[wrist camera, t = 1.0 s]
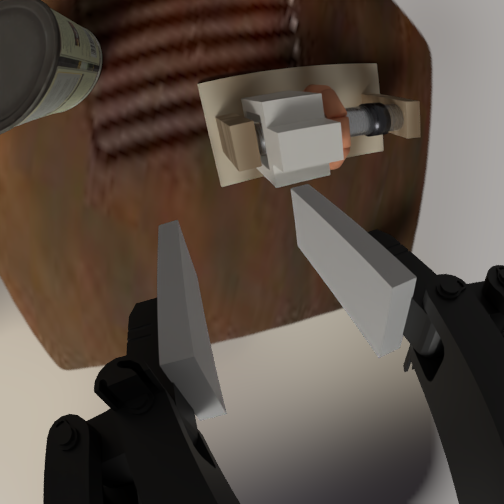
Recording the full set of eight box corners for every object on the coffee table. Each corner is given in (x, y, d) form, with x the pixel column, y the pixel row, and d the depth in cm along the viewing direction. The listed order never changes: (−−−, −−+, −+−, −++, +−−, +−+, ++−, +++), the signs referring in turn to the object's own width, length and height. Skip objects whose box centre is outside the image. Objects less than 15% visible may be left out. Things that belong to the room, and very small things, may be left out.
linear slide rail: (220, 185, 34) (237, 217, 27) (197, 84, 28) (206, 81, 20) (380, 149, 37) (425, 169, 29) (373, 63, 30) (422, 65, 23)
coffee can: (5, 85, 21) (-71, 98, 9) (61, 10, 19) (3, -24, 7) (62, 132, 26) (1, 165, 14) (122, 56, 24) (88, 34, 12)
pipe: (235, 157, 28) (243, 166, 25) (227, 122, 26) (235, 127, 23) (395, 128, 30) (415, 134, 27) (394, 99, 28) (414, 103, 25)
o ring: (302, 157, 32) (339, 180, 25) (291, 85, 27) (330, 87, 21) (317, 154, 32) (356, 176, 25) (307, 83, 28) (349, 85, 21)
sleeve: (253, 165, 31) (287, 199, 22) (240, 98, 27) (272, 104, 19) (298, 155, 31) (345, 184, 23) (288, 90, 27) (337, 95, 19)
